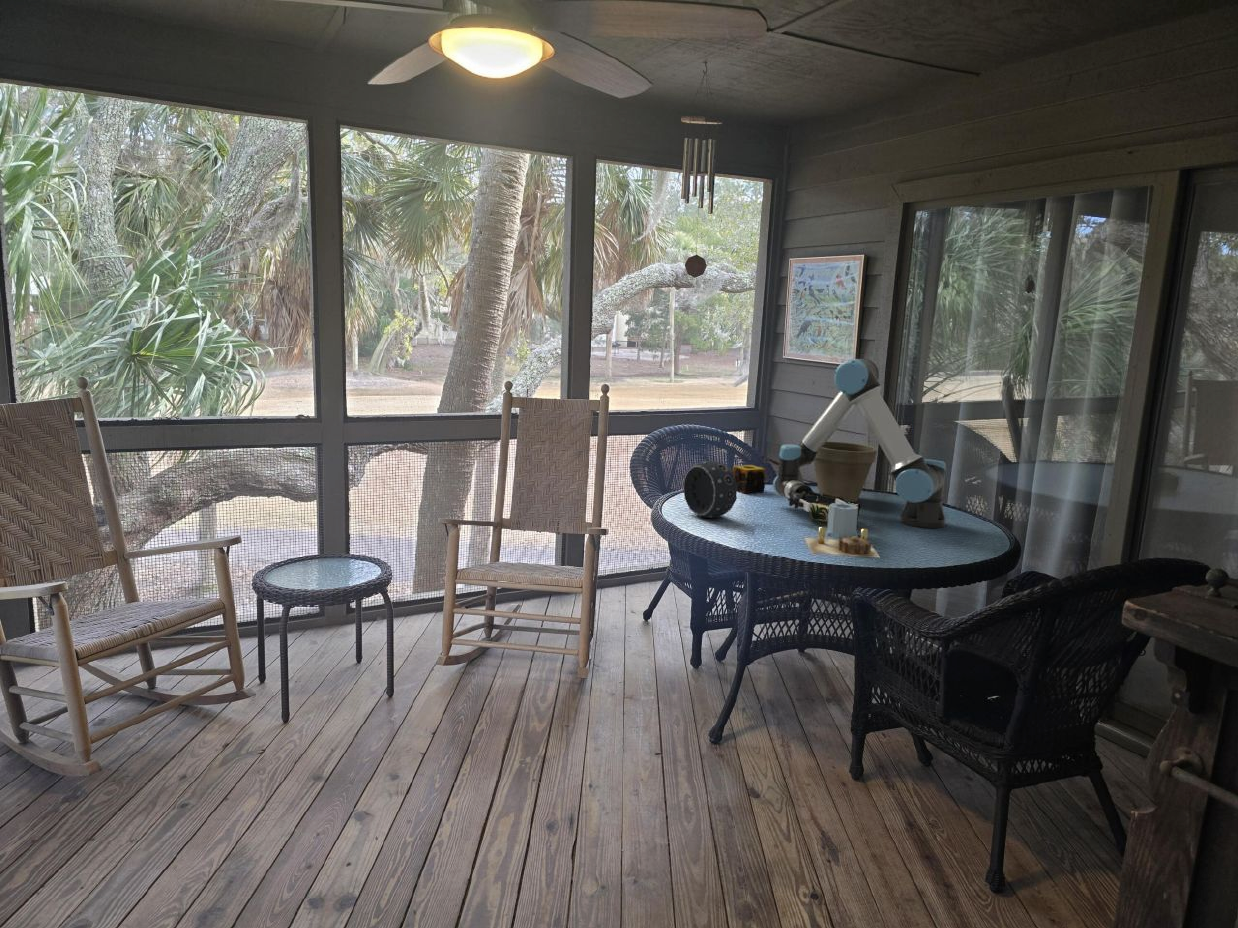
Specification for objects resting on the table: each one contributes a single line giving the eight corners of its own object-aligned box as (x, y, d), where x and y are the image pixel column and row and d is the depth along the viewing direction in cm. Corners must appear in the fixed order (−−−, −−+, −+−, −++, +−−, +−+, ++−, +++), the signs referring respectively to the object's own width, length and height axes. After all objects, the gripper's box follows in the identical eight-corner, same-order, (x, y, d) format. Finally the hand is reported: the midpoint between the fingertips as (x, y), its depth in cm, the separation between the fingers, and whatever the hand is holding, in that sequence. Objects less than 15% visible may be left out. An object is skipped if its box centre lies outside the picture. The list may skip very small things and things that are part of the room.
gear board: (868, 546, 254) (868, 541, 254) (879, 562, 237) (880, 557, 237) (804, 542, 256) (804, 537, 256) (810, 557, 239) (811, 553, 239)
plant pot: (869, 495, 329) (874, 443, 325) (874, 508, 306) (879, 452, 302) (807, 490, 335) (811, 439, 331) (807, 503, 311) (811, 448, 307)
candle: (744, 494, 323) (746, 470, 321) (730, 489, 332) (731, 465, 330) (765, 492, 328) (766, 468, 326) (750, 487, 336) (751, 464, 335)
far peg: (865, 544, 251) (867, 528, 250) (867, 545, 249) (868, 530, 248) (859, 543, 251) (860, 528, 250) (860, 545, 249) (862, 529, 248)
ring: (714, 525, 273) (718, 467, 270) (679, 512, 290) (681, 457, 286) (738, 521, 279) (742, 465, 275) (702, 509, 296) (705, 455, 292)
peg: (824, 542, 251) (825, 526, 250) (824, 544, 249) (826, 528, 248) (817, 541, 251) (818, 526, 250) (818, 543, 249) (819, 528, 248)
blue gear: (847, 534, 268) (849, 501, 266) (863, 542, 258) (866, 509, 256) (818, 535, 265) (821, 502, 263) (834, 543, 255) (837, 510, 253)
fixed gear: (867, 547, 247) (868, 534, 246) (873, 555, 238) (874, 542, 237) (836, 545, 248) (837, 532, 247) (841, 553, 239) (842, 540, 238)
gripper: (829, 502, 293) (859, 517, 273) (766, 503, 287) (792, 518, 267) (831, 482, 292) (861, 496, 272) (767, 482, 286) (794, 496, 266)
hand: (827, 507), depth 269 cm, fingers open, 13 cm apart
